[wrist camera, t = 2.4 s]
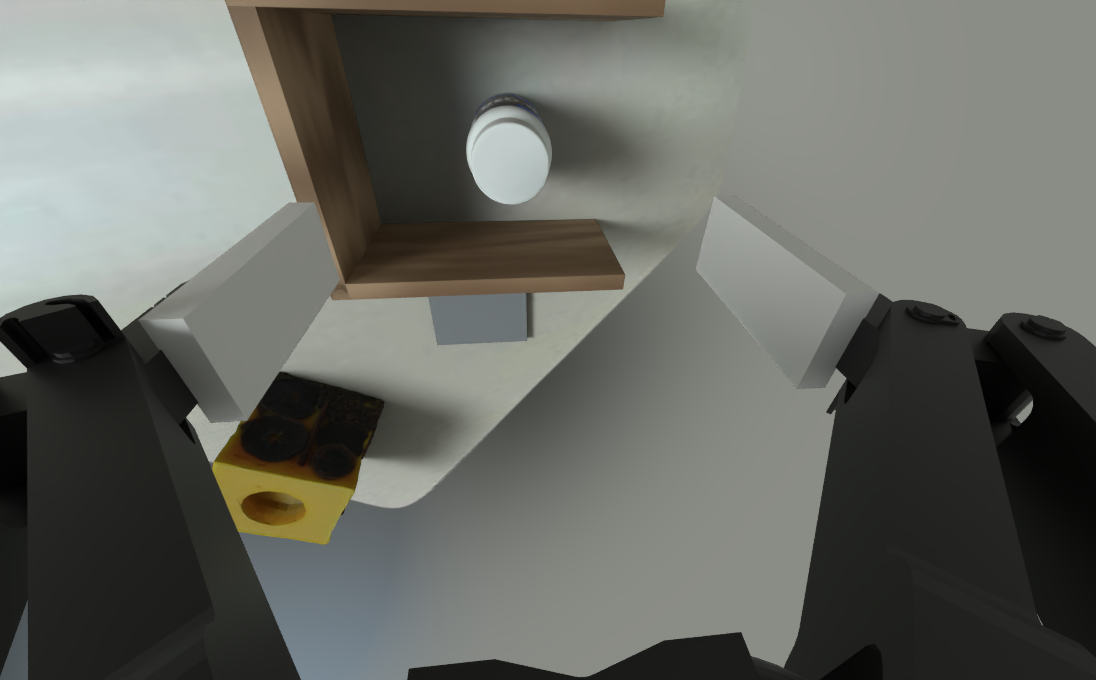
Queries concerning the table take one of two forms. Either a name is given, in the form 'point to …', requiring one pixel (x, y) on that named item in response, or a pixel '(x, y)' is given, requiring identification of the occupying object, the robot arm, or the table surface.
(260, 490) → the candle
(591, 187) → the table surface
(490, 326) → the slate coaster
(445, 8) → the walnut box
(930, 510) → the robot arm
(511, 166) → the pill bottle
